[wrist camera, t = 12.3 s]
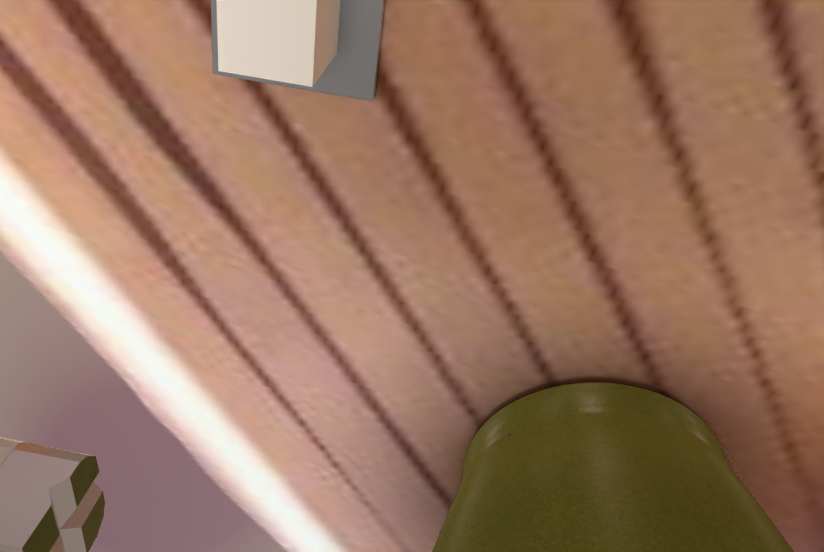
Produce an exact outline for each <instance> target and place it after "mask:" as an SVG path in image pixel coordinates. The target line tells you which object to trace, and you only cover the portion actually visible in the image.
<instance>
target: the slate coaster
mask: <svg viewBox="0 0 824 552" xmlns="http://www.w3.org/2000/svg"><path fill="white" fill-rule="evenodd" d="M384 7H385V0H341V1H340V16H339V30H338V45H337V54H336V55H335V57H334V58H333V60H332V61H331V62H330V64H329V65H328V66H327V68H326V69H325V70H324V72H323V73H322V75H321V76H320V77H319V79H318V80H317V81H316V83H315V84H314V86H313V87H309V86H304V85H298V84H292V83H286V82H280V81H274V80H268V79H262V78H256V77H250V76H245V75H239V74H233V73H227V72H221V71H218V37H217V2H216V0H211V20H212V53H213V74H217V75H223V76H229V77H235V78H240V79H246V80H252V81H258V82H264V83H269V84H275V85H281V86H287V87H293V88H299V89H304V90H310V91H316V92H322V93H328V94H334V95H339V96H345V97H351V98H357V99H363V100H368V101H373V100H374V98H375V93H376V83H377V74H378V64H379V55H380V45H381V36H382V26H383V16H384Z"/></svg>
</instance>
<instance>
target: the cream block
mask: <svg viewBox="0 0 824 552" xmlns="http://www.w3.org/2000/svg"><path fill="white" fill-rule="evenodd" d="M340 1H341V0H216V2H217V37H218V71H221V72H227V73H233V74H239V75H245V76H250V77H256V78H262V79H268V80H274V81H280V82H286V83H292V84H298V85H304V86H309V87H313V86H314V84H315V83H316V81H317V80H318V79H319V77H320V76H321V75H322V73H323V72H324V70H325V69H326V68H327V66H328V65H329V64H330V62H331V61H332V60H333V58H334V57H335V55H336V54H337V45H338V30H339V16H340Z"/></svg>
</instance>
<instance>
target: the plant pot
mask: <svg viewBox="0 0 824 552" xmlns="http://www.w3.org/2000/svg"><path fill="white" fill-rule="evenodd" d="M432 552H794V551H793V550H792V548H791V547H790V546H789V544H788V543H787V541H786V540H785V539H784V537H783V536H782V535H781V533H780V532H779V531H778V529H777V528H776V526H775V525H774V524H773V522H772V521H771V520H770V518H769V517H768V515H767V514H766V513H765V511H764V510H763V509H762V507H761V506H760V505H759V503H758V502H757V501H756V500H755V498H754V497H753V496H752V494H751V493H750V492H749V491H748V489H747V488H746V487H745V486H744V484H743V483H742V482H741V481H740V479H739V478H738V477H737V476H736V474H735V473H734V472H733V471H732V469H731V468H730V466H729V464H728V462H727V460H726V457H725V455H724V453H723V450H722V448H721V445H720V443H719V442H718V440H717V438H716V437H715V435H714V433H713V432H712V431H711V429H710V428H709V427H708V426H707V425H706V424H705V423H704V422H703V421H702V420H701V419H700V418H699V417H698V416H697V415H696V414H695V413H693V412H692V411H690V410H689V409H688V408H686V407H685V406H683V405H681V404H680V403H678V402H676V401H674V400H673V399H671V398H668V397H666V396H663V395H661V394H659V393H656V392H653V391H650V390H647V389H643V388H638V387H634V386H629V385H623V384H615V383H602V382H586V383H574V384H567V385H560V386H556V387H551V388H547V389H544V390H541V391H538V392H535V393H532V394H529V395H527V396H524V397H522V398H520V399H518V400H516V401H514V402H512V403H511V404H509V405H507V406H505V407H504V408H503V409H501V410H500V411H498V412H497V413H496V414H494V415H493V416H492V417H491V418H490V419H489V420H488V421H487V422H486V423H485V424H484V425H483V426H482V427H481V428H480V429H479V430H478V432H477V433H476V435H475V436H474V438H473V439H472V441H471V443H470V445H469V447H468V450H467V452H466V455H465V459H464V465H463V473H462V480H461V485H460V487H459V489H458V492H457V494H456V496H455V498H454V501H453V503H452V505H451V508H450V510H449V512H448V515H447V517H446V519H445V522H444V524H443V527H442V529H441V531H440V534H439V536H438V539H437V541H436V544H435V546H434V549H433V551H432Z"/></svg>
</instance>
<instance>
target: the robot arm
mask: <svg viewBox="0 0 824 552" xmlns="http://www.w3.org/2000/svg"><path fill="white" fill-rule="evenodd" d="M98 473H99V468H98V464H97V461H96V457H95V456H90V455H86V454H80V453H76V452H71V451H65V450H61V449H56V448H51V447H47V446H42V445H37V444H32V443H28V442H23V441H18V440H13V439H7V438H2V437H0V552H88V551H89V550H90V548H91V546H92V544H93V542H94V540H95V539H96V537H97V534H98V531H99V528H100V525H101V522H102V519H103V515H104V504H105V501H104V495H103V491H102V490H101V489H100V488H99V487H98V486H97V485H96V484H95V483H94V482H93V481H94V479H95V477H96V476H97V474H98Z"/></svg>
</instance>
